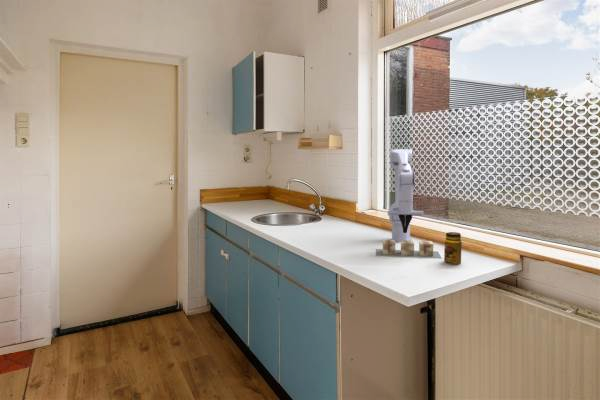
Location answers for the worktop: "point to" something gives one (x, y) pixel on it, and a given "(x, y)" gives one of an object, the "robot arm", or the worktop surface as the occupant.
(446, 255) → the condiment
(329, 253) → the worktop surface
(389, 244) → the block one
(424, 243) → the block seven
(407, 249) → the plain block
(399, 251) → the slate mat
